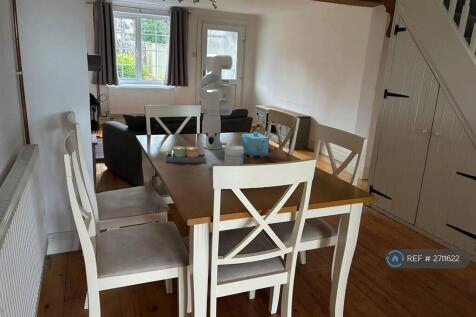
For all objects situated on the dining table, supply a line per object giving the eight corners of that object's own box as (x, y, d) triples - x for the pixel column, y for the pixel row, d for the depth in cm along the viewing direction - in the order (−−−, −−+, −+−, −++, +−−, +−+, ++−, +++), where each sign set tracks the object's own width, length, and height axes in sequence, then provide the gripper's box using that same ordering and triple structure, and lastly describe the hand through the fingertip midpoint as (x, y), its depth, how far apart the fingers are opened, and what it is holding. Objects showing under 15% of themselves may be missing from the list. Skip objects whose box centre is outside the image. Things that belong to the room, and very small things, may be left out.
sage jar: (185, 158, 206) (185, 146, 204) (185, 161, 200) (185, 149, 198) (173, 158, 205) (173, 146, 203) (172, 161, 198) (172, 149, 197)
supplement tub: (244, 177, 180) (246, 149, 176) (226, 177, 178) (227, 149, 174) (240, 171, 189) (241, 144, 185) (222, 172, 187) (223, 144, 183)
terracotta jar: (197, 158, 208) (198, 146, 206) (198, 161, 201) (199, 149, 199) (185, 158, 206) (185, 146, 204) (186, 161, 199) (186, 149, 198)
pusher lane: (204, 158, 209) (204, 151, 208) (205, 163, 200) (205, 155, 199) (166, 158, 206) (166, 150, 205) (166, 162, 197) (165, 155, 196)
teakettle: (245, 150, 235) (246, 128, 231) (272, 154, 228) (274, 131, 224) (235, 156, 218) (236, 133, 214) (264, 161, 211) (265, 137, 207)
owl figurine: (243, 143, 254) (244, 120, 249) (257, 143, 258) (259, 119, 254) (254, 149, 238) (255, 124, 233) (269, 148, 243) (271, 124, 238)
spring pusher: (173, 157, 205) (173, 150, 204) (172, 161, 199) (173, 153, 197) (171, 157, 205) (171, 150, 204) (171, 161, 198) (171, 153, 197)
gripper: (198, 113, 194) (198, 145, 199) (225, 114, 196) (224, 146, 202) (198, 110, 201) (197, 141, 206) (224, 111, 203) (223, 142, 209)
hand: (210, 143), depth 204 cm, fingers closed
